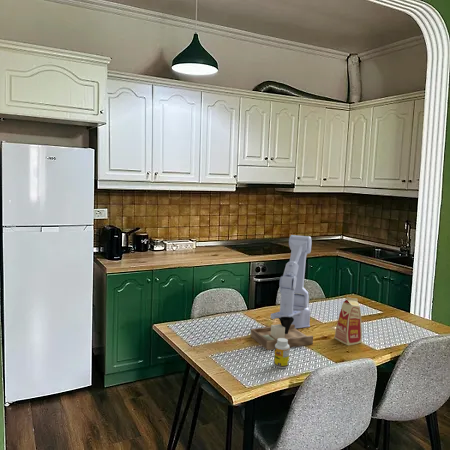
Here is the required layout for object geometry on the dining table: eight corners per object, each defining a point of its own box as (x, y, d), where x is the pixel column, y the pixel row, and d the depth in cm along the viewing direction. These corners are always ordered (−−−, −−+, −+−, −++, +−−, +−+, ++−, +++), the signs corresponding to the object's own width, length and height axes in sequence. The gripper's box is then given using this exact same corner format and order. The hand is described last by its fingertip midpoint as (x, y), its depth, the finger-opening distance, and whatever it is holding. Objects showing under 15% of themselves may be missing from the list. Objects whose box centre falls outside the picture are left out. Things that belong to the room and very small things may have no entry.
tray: (293, 331, 203) (293, 324, 203) (312, 344, 189) (313, 336, 188) (250, 336, 195) (250, 329, 195) (267, 350, 180) (267, 342, 180)
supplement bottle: (271, 363, 167) (272, 338, 166) (283, 361, 169) (284, 336, 168) (278, 369, 162) (280, 343, 161) (291, 367, 164) (292, 341, 163)
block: (279, 334, 194) (280, 324, 193) (284, 337, 190) (285, 327, 189) (270, 335, 192) (271, 325, 192) (275, 338, 188) (275, 328, 188)
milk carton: (347, 345, 188) (350, 300, 186) (333, 338, 197) (336, 294, 194) (363, 342, 193) (366, 298, 191) (348, 335, 201) (351, 292, 199)
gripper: (276, 307, 184) (275, 338, 186) (306, 304, 190) (304, 334, 191) (268, 302, 191) (267, 332, 192) (297, 299, 196) (295, 329, 198)
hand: (285, 333), depth 192 cm, fingers closed
